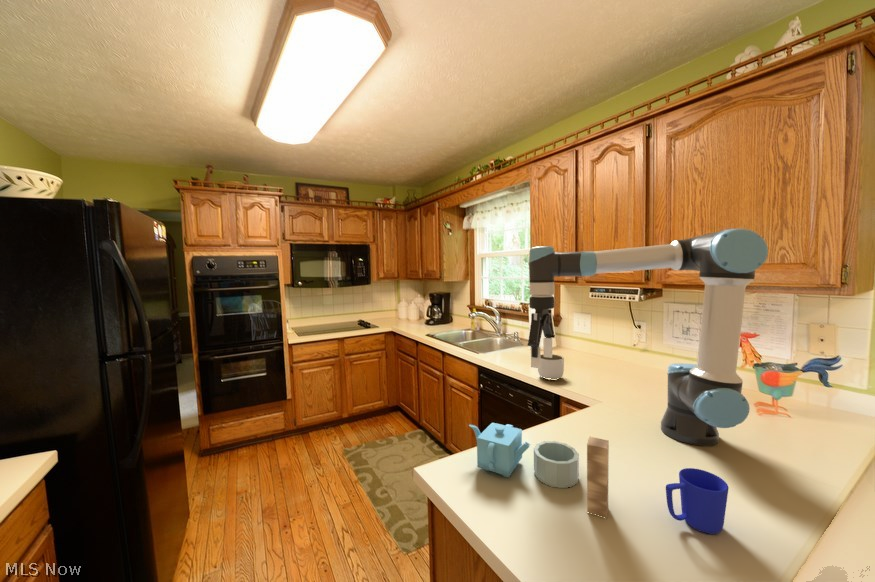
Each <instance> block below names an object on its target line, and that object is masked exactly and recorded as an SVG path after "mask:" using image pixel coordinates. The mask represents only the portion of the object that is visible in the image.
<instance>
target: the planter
mask: <svg viewBox="0 0 875 582" xmlns="http://www.w3.org/2000/svg"><path fill="white" fill-rule="evenodd" d="M537 371H538V375H539V376H540V377H541V376H542V377H545V378H551V379H557V378H561V377H562V378H563V375H564V371H565V358H564V356H562V355H559V354H556V353H555V354H553V353H552V358H548V357H544V353H541V368H537ZM542 377H541V378H542ZM562 378H561V379H562Z"/></svg>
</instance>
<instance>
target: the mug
mask: <svg viewBox="0 0 875 582" xmlns="http://www.w3.org/2000/svg"><path fill="white" fill-rule="evenodd" d="M678 480H679V483H678V482H674V483H667V484H666V485H665V495H666V496H665V497H666V504H667V509H668V512H669V514H670V516H671V517H672V518H673V519H675V520H676V521H679V522H680V521H685V522H686V523H687V524H688V525H689V526H690V527H692V528H694V529H695V530H697V531H699V532H701V533H704V534H709V535H710V534H711V535H715V534H719V533H721V532H722V530H723V529H724V526H725V517H726V509H727V502H728V496H729V485H728V483H727V482H726V481H725V479H723V478H722V477H720V476H718V475H716V474H714V473H712V472H709V471H706V470H703V469H700V468H693V467H687V468H686V467H685V468H683V469H681V470H679V472H678ZM676 490H679V492H680V503H681V504H680V506H681V514H676V513H675V510H674V509H675V508H674V502H673V501H674V500H673V491H676Z"/></svg>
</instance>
